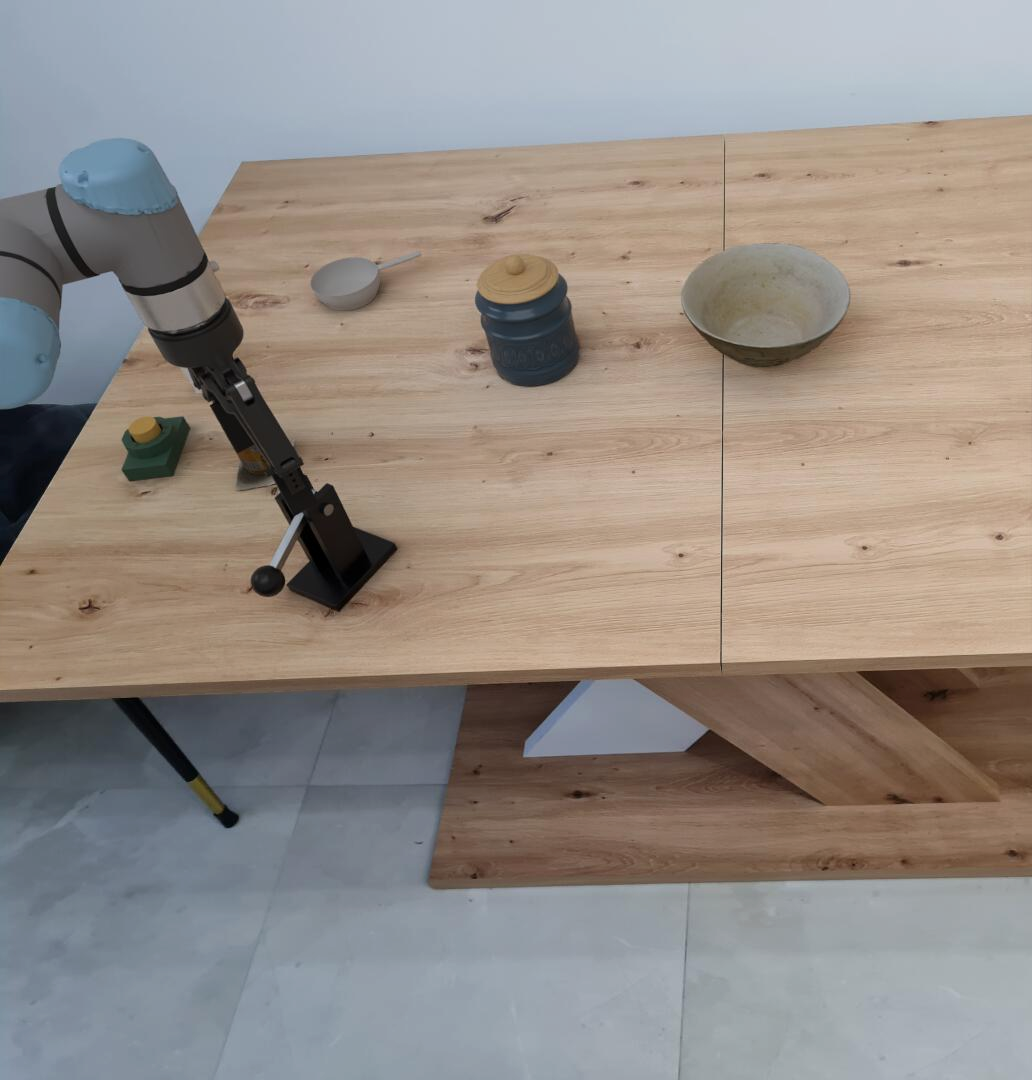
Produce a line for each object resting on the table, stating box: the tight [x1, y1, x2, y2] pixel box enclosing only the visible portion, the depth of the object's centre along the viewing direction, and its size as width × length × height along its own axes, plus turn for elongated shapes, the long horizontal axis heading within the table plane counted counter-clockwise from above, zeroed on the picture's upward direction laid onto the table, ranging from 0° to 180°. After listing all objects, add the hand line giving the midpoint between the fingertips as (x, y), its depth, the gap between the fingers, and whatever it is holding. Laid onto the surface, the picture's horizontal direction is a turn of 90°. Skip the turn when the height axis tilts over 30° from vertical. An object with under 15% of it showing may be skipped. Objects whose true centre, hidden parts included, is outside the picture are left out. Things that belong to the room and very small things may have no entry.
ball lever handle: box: [250, 489, 318, 598], centre depth 119 cm, size 13×4×4 cm, turn 152°
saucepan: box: [309, 250, 422, 311], centre depth 169 cm, size 11×18×4 cm, turn 114°
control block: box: [121, 415, 191, 482], centre depth 145 cm, size 10×6×4 cm, turn 6°
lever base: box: [274, 473, 398, 613], centre depth 124 cm, size 11×8×14 cm
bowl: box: [680, 242, 851, 369], centre depth 149 cm, size 24×24×10 cm
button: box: [128, 416, 161, 443], centre depth 143 cm, size 4×4×2 cm
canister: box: [474, 253, 581, 387], centre depth 148 cm, size 13×13×18 cm
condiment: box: [211, 401, 295, 491], centre depth 139 cm, size 7×8×12 cm
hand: (275, 476), depth 112 cm, fingers open, 13 cm apart
